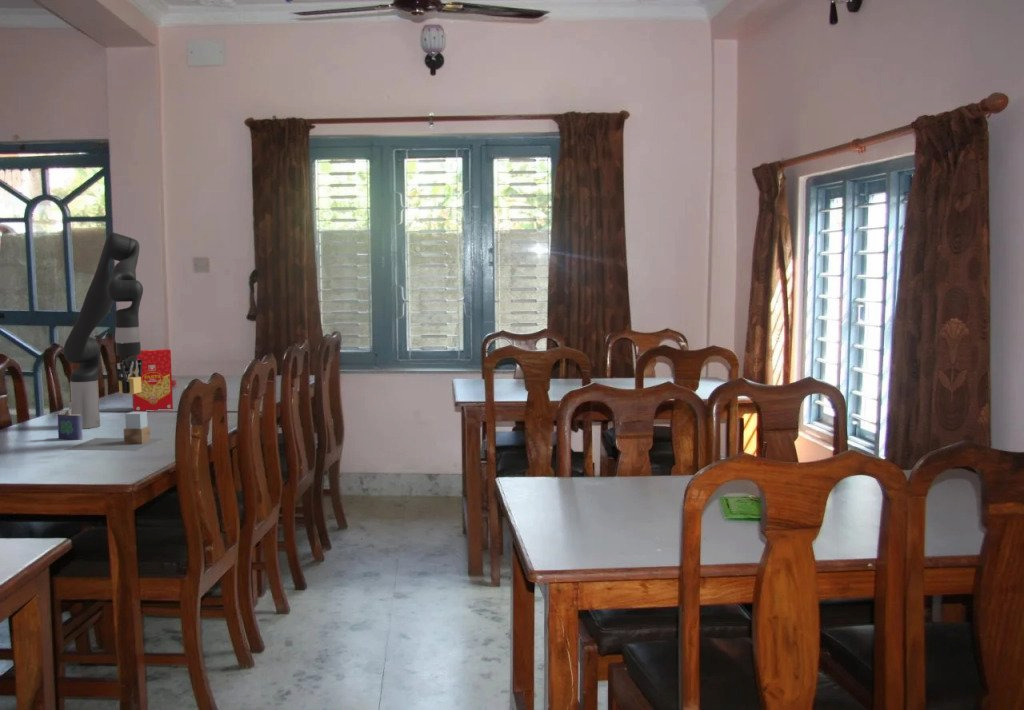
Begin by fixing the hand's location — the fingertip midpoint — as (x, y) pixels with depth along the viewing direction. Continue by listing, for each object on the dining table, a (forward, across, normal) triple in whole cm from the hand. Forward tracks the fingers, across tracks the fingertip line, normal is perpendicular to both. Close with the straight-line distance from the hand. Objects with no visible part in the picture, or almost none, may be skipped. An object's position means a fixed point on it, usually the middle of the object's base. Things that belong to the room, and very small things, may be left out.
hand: (130, 391), depth 289 cm
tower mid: (+12, -1, +1) cm, 12 cm away
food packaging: (+18, -70, -27) cm, 77 cm away
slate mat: (+18, +2, -5) cm, 18 cm away
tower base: (+17, -1, +1) cm, 17 cm away
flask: (+18, -6, -25) cm, 31 cm away
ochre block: (0, 0, 0) cm, 0 cm away
